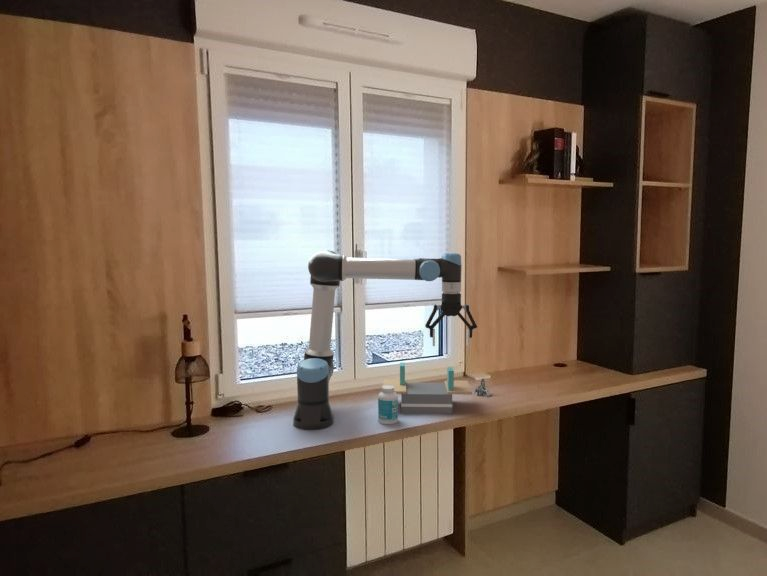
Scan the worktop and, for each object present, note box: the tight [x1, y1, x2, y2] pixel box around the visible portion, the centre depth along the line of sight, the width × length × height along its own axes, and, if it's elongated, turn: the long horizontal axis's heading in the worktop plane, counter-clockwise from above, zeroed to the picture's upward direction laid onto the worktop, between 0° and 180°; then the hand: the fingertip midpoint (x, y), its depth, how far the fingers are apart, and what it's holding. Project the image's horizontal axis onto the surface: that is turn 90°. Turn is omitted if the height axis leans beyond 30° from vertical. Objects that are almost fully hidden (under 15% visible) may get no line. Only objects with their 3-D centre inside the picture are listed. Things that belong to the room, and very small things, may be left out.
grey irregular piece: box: [473, 378, 493, 398], centre depth 223 cm, size 9×9×8 cm
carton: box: [400, 382, 453, 415], centre depth 208 cm, size 20×16×8 cm
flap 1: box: [382, 362, 407, 395], centre depth 207 cm, size 10×16×9 cm, turn 178°
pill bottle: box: [377, 385, 399, 426], centre depth 191 cm, size 8×7×14 cm
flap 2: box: [443, 366, 473, 396], centre depth 206 cm, size 10×16×9 cm, turn 178°
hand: (450, 345), depth 202 cm, fingers open, 13 cm apart
